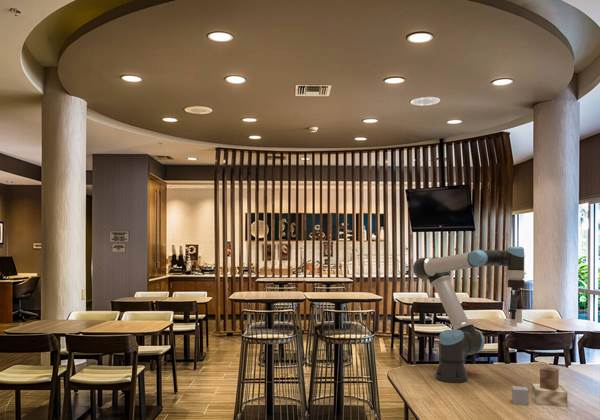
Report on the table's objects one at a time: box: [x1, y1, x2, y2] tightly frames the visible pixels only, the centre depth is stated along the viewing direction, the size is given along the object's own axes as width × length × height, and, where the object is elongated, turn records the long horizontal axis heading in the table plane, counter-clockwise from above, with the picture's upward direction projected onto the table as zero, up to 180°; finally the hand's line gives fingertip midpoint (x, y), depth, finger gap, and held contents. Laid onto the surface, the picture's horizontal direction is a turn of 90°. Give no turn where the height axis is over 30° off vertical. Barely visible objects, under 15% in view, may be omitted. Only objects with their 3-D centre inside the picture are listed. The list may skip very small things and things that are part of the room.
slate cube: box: [511, 385, 530, 406], centre depth 240 cm, size 6×6×6 cm
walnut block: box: [539, 366, 560, 390], centre depth 243 cm, size 6×6×8 cm
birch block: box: [531, 383, 569, 408], centre depth 243 cm, size 12×12×6 cm
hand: (516, 324), depth 268 cm, fingers open, 13 cm apart
